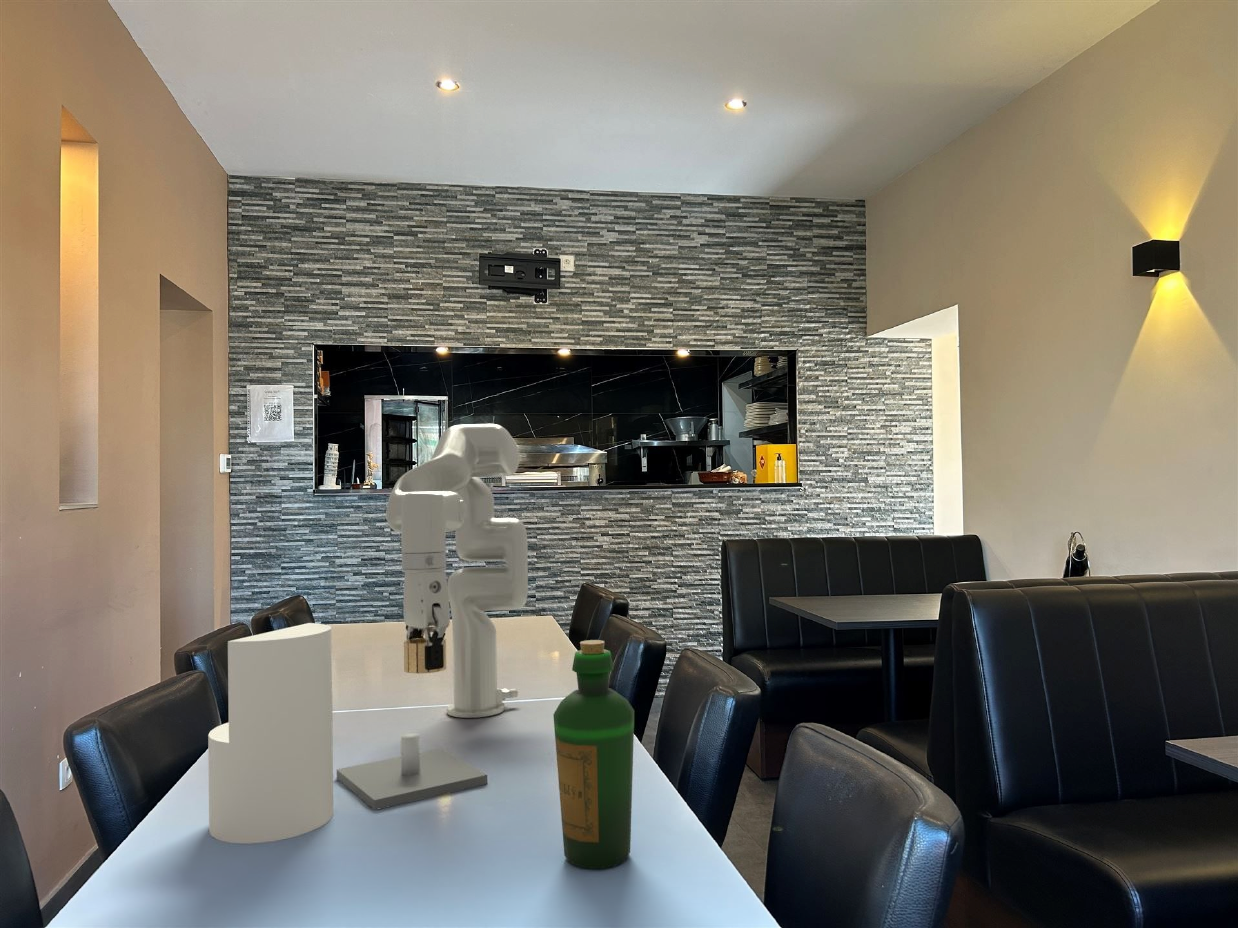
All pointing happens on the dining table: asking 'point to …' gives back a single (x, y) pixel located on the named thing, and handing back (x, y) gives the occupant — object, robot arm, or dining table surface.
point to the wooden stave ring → (418, 656)
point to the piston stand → (410, 776)
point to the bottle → (595, 763)
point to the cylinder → (274, 738)
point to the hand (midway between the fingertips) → (425, 664)
